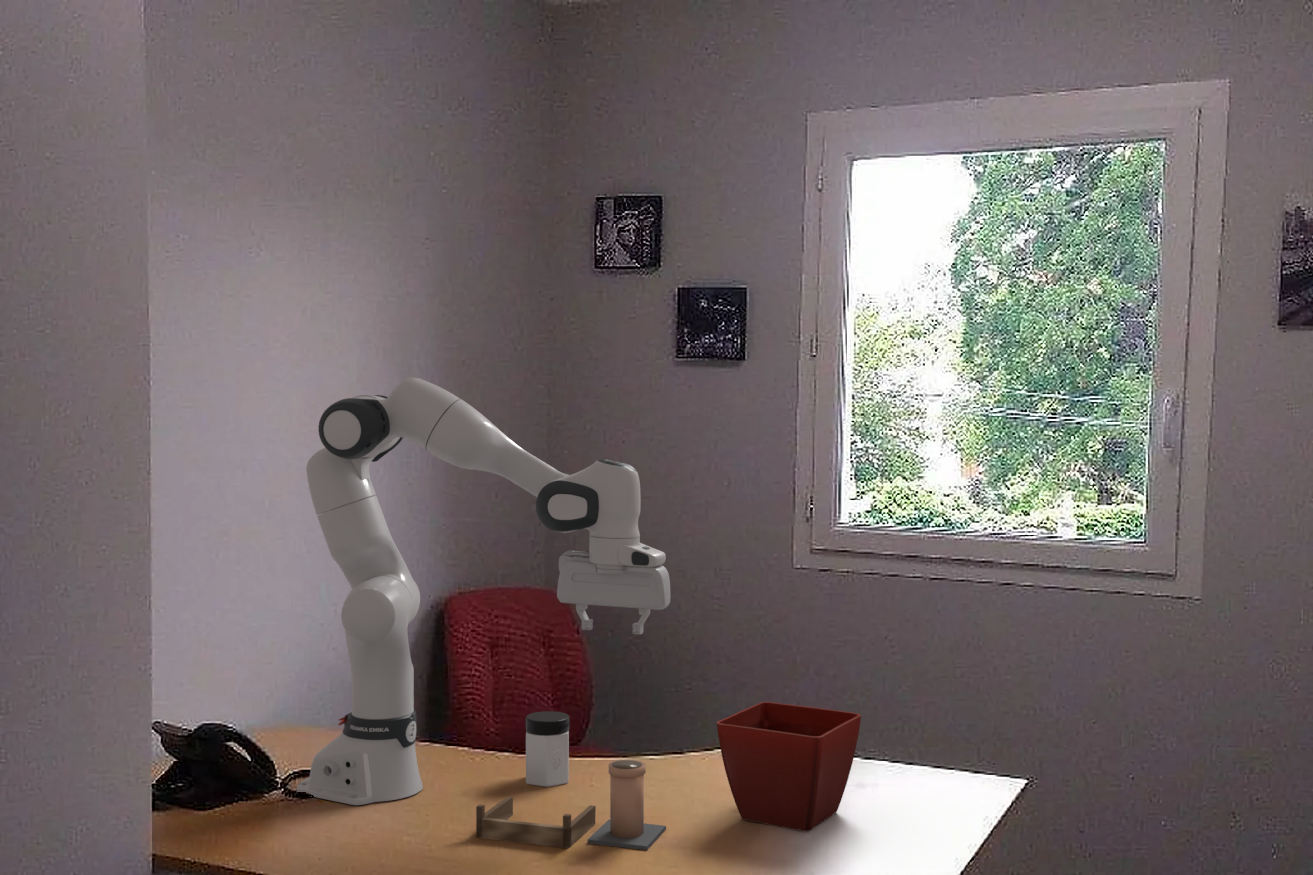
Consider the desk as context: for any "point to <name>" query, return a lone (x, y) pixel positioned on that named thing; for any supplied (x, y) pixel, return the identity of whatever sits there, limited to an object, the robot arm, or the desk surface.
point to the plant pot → (788, 762)
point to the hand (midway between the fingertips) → (612, 631)
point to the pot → (627, 798)
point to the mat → (641, 842)
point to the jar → (547, 748)
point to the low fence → (531, 826)
